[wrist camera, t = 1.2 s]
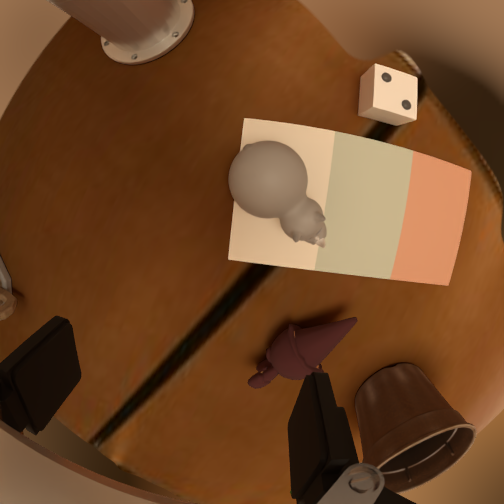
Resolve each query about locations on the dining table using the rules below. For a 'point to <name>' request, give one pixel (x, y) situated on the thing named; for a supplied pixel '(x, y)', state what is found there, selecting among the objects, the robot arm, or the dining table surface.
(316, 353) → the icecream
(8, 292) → the tankard
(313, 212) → the round bodied animal figurine
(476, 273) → the dining table surface
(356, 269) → the game mat
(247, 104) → the dining table surface
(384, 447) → the plant pot
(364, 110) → the die
